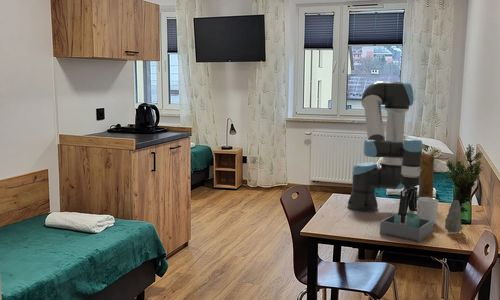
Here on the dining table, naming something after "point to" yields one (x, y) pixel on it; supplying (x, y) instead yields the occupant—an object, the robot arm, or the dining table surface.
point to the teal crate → (409, 220)
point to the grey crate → (406, 229)
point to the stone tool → (454, 218)
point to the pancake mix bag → (426, 176)
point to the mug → (427, 208)
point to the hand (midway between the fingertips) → (406, 227)
